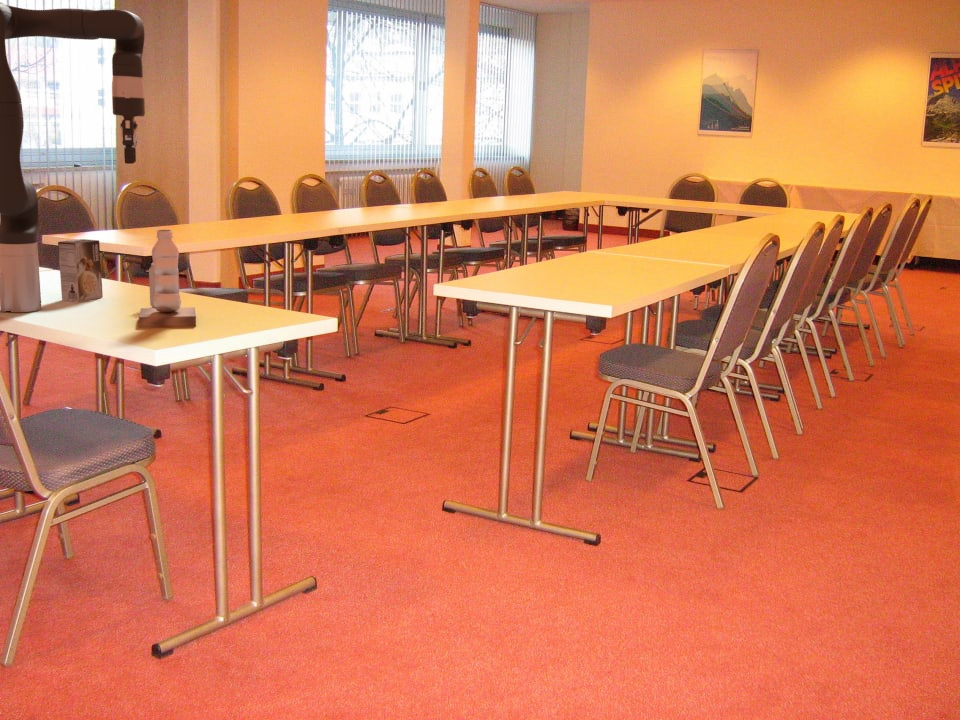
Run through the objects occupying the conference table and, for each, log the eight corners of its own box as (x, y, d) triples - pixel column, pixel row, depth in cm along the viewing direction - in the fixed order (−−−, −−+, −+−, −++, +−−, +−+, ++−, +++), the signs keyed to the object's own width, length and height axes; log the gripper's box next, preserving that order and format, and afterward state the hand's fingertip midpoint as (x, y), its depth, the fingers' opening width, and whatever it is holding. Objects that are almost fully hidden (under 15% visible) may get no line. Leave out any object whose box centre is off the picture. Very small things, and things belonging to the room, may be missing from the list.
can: (171, 310, 261) (169, 265, 259) (144, 309, 263) (143, 263, 260) (184, 306, 268) (183, 262, 266) (159, 304, 270) (157, 260, 267)
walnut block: (139, 327, 237) (138, 317, 237) (141, 318, 249) (140, 308, 249) (196, 326, 241) (195, 316, 240) (195, 317, 253) (195, 307, 253)
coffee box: (85, 296, 280) (82, 238, 277) (103, 297, 278) (100, 240, 275) (60, 300, 272) (57, 241, 269) (79, 302, 270) (75, 242, 266)
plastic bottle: (155, 315, 240) (152, 231, 236) (152, 310, 246) (149, 229, 242) (183, 313, 243) (180, 231, 239) (179, 309, 249) (176, 228, 245)
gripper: (114, 96, 252) (116, 161, 255) (110, 94, 238) (112, 163, 242) (145, 97, 254) (147, 162, 257) (143, 96, 241) (145, 164, 244)
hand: (130, 163), depth 250 cm, fingers open, 8 cm apart
